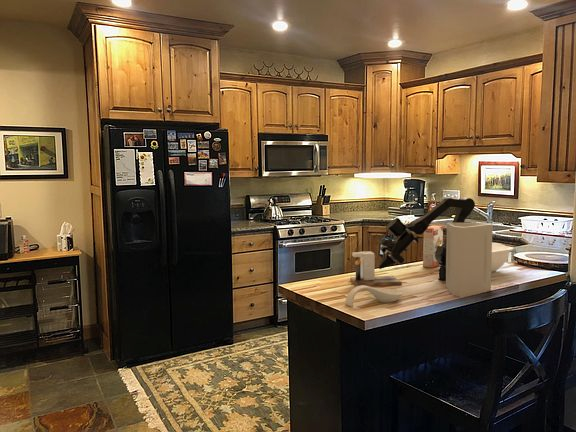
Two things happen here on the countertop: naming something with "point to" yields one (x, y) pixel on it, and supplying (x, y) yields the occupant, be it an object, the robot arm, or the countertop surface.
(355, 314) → the countertop surface
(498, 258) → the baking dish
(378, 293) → the spoon rest
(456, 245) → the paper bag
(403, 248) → the robot arm
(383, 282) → the walnut rail
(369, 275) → the white block with lip
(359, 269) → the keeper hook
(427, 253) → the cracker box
